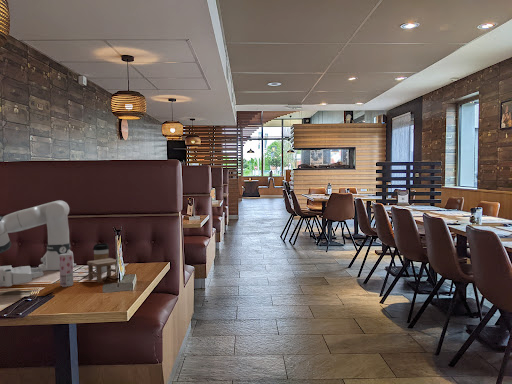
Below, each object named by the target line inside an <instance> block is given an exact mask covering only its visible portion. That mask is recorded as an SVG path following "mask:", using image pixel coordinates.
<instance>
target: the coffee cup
mask: <svg viewBox="0 0 512 384" xmlns="http://www.w3.org/2000/svg"><path fill="white" fill-rule="evenodd" d="M109 250H110V247H109V243H107V242H104V243H102V242H101V243H95V244H93V247H92V251H93V259H94V260H100V259H106V258H109ZM95 272H96V273H97V267H95ZM101 273H107V266H104V267H101Z"/></svg>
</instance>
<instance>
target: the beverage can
mask: <svg viewBox="0 0 512 384" xmlns="http://www.w3.org/2000/svg"><path fill="white" fill-rule="evenodd" d="M59 258H60V270H59V286H60V287H61V286H62V287H63V288H66V287H67V286H68V287H71V286H73V285H74V266H73V259H74V254H73V255H72V253H64V254H60V257H59Z"/></svg>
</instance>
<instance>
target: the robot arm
mask: <svg viewBox="0 0 512 384" xmlns="http://www.w3.org/2000/svg"><path fill="white" fill-rule="evenodd" d="M69 214H70V206H69V204H68V202H66V201H64V200H62V199H61V200H60V199H59V200H55V201H51V202H47V203H43V204H40V205H36V206H33V207H29V208H25V209H22V210H21V209H20V210H17V211H14V212H11V213H8V214H6V215H4V216H2V215H0V254H2V253H4V252H6V251H7V250H9V249H10V247H12V241H11V239H10V237H9V233H17V232H21V231H22V232H23V231H25V230H29V229H32V228H36V227H39V226H42V225H46V227H47V228H46V230H47V245H46V252H45V254H44V255H43V257H41V258H40V262H41V264H39V265H38V267H31V266H30V265H25V266H24V265H23V266H17V267H12V266H13V265H11V264H10V265H2V266H1V265H0V287H8V288H9V287H12V286H13V285H19V284H25V283H29V282H31V281H33V279H34V278H38V277H43V276H44V272H45V271H60V258H59V257H60V254H64V253H72V255H73V256H74V253H73V251H72V250H71V242H70V228H69V218H68V217H69V216H68V215H69ZM74 262H75V261H74V258H73V267H75V266H77V263H74Z"/></svg>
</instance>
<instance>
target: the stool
mask: <svg viewBox="0 0 512 384" xmlns="http://www.w3.org/2000/svg"><path fill="white" fill-rule="evenodd" d="M116 260H117V259H115V258H112V257H108V258H106V259H100V260H88V261H86V265H88V266H87V269H88V270H87V271H88V280H94V276H96V282H97V283H98V284H99V283H102V282H103V280H102V279H103V278H102V272H101V267H104V266H107V271H106V276H107V277H110V276H112V272H113V273H115V276H116ZM112 266H114V267H115V269H114V268H112ZM94 267H97V272H96V271H94Z"/></svg>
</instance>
